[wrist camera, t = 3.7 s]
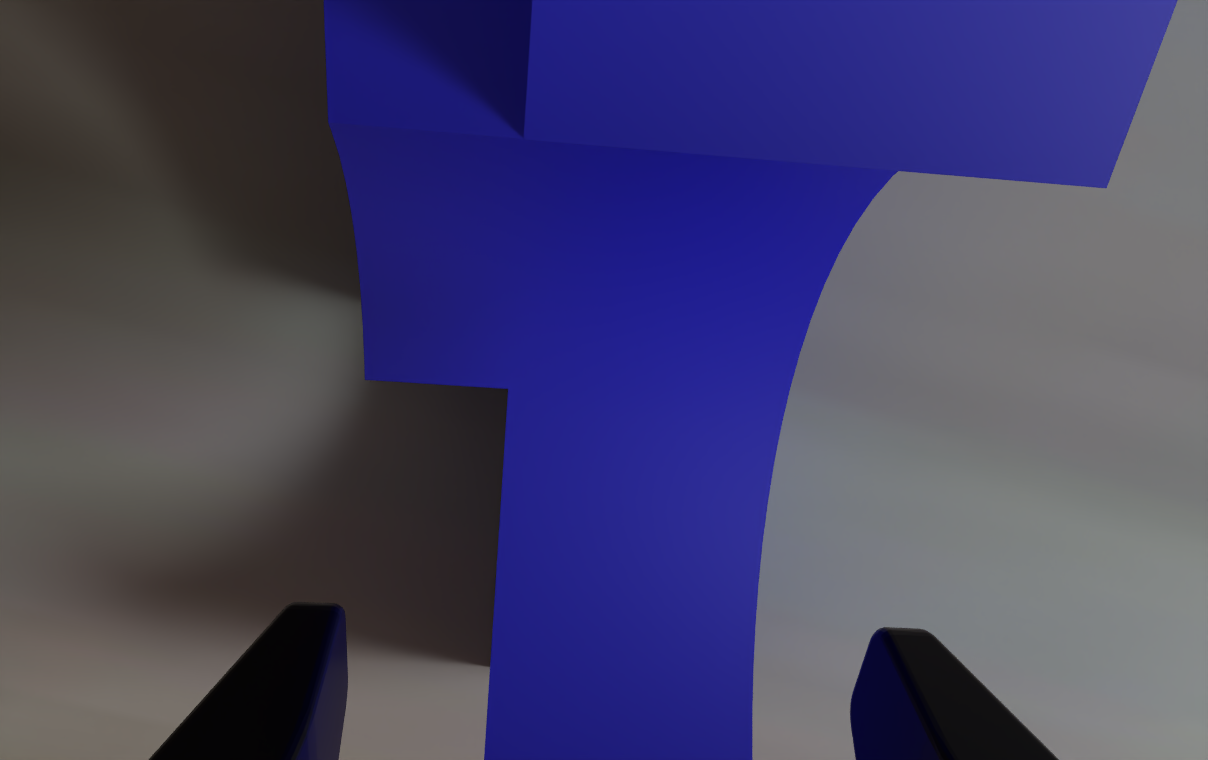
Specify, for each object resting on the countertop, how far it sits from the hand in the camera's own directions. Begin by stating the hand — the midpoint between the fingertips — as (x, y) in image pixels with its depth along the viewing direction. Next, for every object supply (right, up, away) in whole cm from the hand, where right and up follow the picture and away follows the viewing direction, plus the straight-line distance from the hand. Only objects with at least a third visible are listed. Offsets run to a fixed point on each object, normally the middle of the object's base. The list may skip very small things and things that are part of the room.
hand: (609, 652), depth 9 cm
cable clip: (0, +3, +4) cm, 5 cm away
